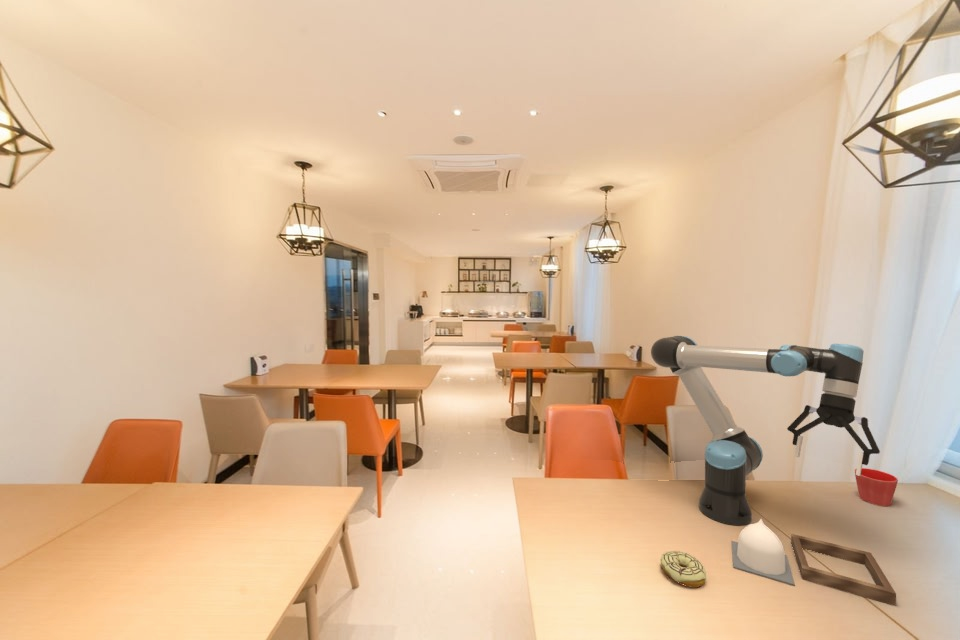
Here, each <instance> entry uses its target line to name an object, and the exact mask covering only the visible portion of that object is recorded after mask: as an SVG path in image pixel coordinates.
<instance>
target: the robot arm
mask: <svg viewBox="0 0 960 640" xmlns="http://www.w3.org/2000/svg"><path fill="white" fill-rule="evenodd" d="M650 354H651V355H650V356H651V358H652V359H653V361H654V363H656V364H657V365H658V366H660V367H661V368H669V369H670V371H671V373H672V374H673V375H675V376H678V377H679V378H680V380H681V382H682V383H683V385H684V387H685V389H686V391H687V392H688V394H689V396H690V397H691V399H692V401H693V402H694V404H695V406H696V408H697V409H698V411H699V413H700V415H701V417H702V418H703V420H704V422H705V423H706V425H707V426H708V428H709V431H710V432H711V433H712V434H711V435H712V436H711V441H709V442H708V443H707V444H706V445H705V451H704V487H703V490H702V492H701V495H700V498H699V500H698V508H700V509H699V511H700V510H701V511H702V512H703V513H704V514H703V513H702V512H701V511H700V512H701V513H702V514H703V515H704V516H706V515H707V516H706V517H708V518H709V517H710V518H709V519H711V518H712V520H713V519H714V521H716V522H720V523H722V524H725V523H726V525H732V526H745V525H746V526H747V525H749V524H751V522H752V520H753V519H752V509H751V506H750V504H749V502H748V499H747V495H746V490H747V489H746V488H747V487H746V480H747V479H746V477H747V476H749V474H750V473H752V472H753V471H754V470H756V469H757V468H759V466H761V465H760V464H761V462H762V461H763V457H764V456H763V455H764V453H763V450H762V447H761V446H760V443H759V442H758V441H757V440H755V439H754V438H752V437H750V436H749V435H748V433H747V431H745V429H744V428H742V427H739V426H737V424H736V422H735V420H734V419H733V417H732V416H731V414H730V413H729V411H728V409H727V407H726V406H725V405H724V403H723V401H722V400H721V398H720V396H719V395H718V393H717V391H716V389H715V388H714V386H713V385H712V383H711V381H710V380H709V378H708V377H707V375H706V373H705V372H704V370H703V369H702V368H709V369H710V368H711V369H721V370H722V369H723V370H734V371H746V372H756V373H757V372H758V373H759V372H760V373H768V374H777V375H780V376H781V377H797V376H799V375H801V374H802V373H804V372H805V371H806V372H814V373H820V374H824V378H823V385H822V389H821V390H822V392H823V393H821V396H820V400H819V406H818V407H817V408H816V407H814V406H811V405H809V404H808V405H805V406H804V409H803V411H802V413H800V414H799V415H798V417H796V418H795V420H793V421H792V423H790V425H788V426H787V428H786V429H787V431H789V432H790V433H792V434H793V437H792V438H793V439H792V445H793V446H795V452H794V457H795V458H800V456H801V451H802V446H803V445H802V444H803V440H804V436H803V435H802V434H804V433H806V432H808V431H810V430H811V429H813V428H815V427H817V426H819V425H820V424H825V425H827V426H834V427H836V428H839V429H840V428H841V429H842V428H844V429H845V430H846V431H847V433H849V435H850V437H851V438H853V440H854V441H855V443H856V444H857V445H858V446H859V448H860V449H861V450H862V451H859V454H858V458H857V465H856V469H857V470H856V475H858V476H860V475H861V470H862V468H863V466H868V465H869V461H870V456H871V455H875V454H876V455H877V454H880V453H881V451H880V448H879V447H878V444H877V442H876V440H875V438H874V436H873V434H872V431H871V429H870V428H869V419H868V418H867V417H864V416H863V417H861V416H855V415H854V412H855V406H856V399H854V398H857V396H858V390H859V385H860V384H859V383H860V378H861V373H862V367H863V364H864V363H863V360H864V350H863V348H861V347H860V346H857V345H853V344H849V343H848V344H847V343H846V344H845V343H832V344H830V345H829V348H827V349H826V348H824V349H823V348H817V347H809V346H799V345H797V344H796V345H795V344H792V345H791V344H783V345H781V346H780V347H779V349H777V348H776V349H775V348H773V349H771V348H756V347H738V346H737V347H736V346H735V347H734V346H716V345H715V346H714V345H698V344H697V342H696V341H695V340H694V339H692V338H691V337H688V336H685V335H674V336H670V337H669V336H668V337H662V338H659V339H658V340H656V341H655V342H654V343H653V345H652V346H651V349H650ZM815 412H816V414H817V416H818V418H816V419H814V420H813V421H811V422H810V421H809V423H807V424H805V425H803V426H801V427H800V428H798V426H799V425H801V424H802V422H803V421H805V419H807V417H809V415H810V414H813V413H815ZM854 421H856V422H857V424H859V425H861V429H862V430H863V433H864V435H865V437H866V439H867V441H868V444H869V446H870V448H869V447H868V446H867V445H866V444H865V442H864V441H863V440H862V439H861V437H860V436H859V434H858V433H857V432H856V431H855V430H854V429H853V427H852V426H851V425H850V424H851V423H853V422H854ZM796 428H798V429H796Z"/></svg>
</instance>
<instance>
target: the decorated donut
mask: <svg viewBox="0 0 960 640" xmlns="http://www.w3.org/2000/svg"><path fill="white" fill-rule="evenodd" d="M660 564H661V565H660V566H661V567H662V570H663V571H664V573H665V574H666V576H667V577H669V578H670V577H671V578H672V580H673V579H674V580H673V581H674V582H676V581H677V583H678V582H679V583H678V584H680V583H681V584H684V585H686V586H685V587H687V586H691V587H690V588H693V587H698V588H700V587H702V586H703V585H704V584H705V582H706V580H707V571H706V568H705V566H704V565H703V563H702V562H701V561H700V560H699V559H697V558H696V557H695V556H693V555H691V554H690V553H687V552H684V551H680V550H679V551H678V550H671V551H665V552H663V553H662V554H661V557H660ZM671 578H670V579H671ZM681 584H680V585H681ZM684 585H683V586H684ZM699 586H700V587H699Z"/></svg>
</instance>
